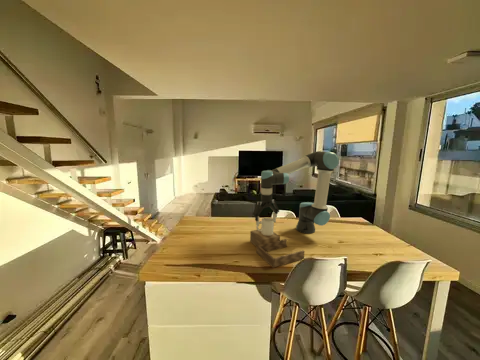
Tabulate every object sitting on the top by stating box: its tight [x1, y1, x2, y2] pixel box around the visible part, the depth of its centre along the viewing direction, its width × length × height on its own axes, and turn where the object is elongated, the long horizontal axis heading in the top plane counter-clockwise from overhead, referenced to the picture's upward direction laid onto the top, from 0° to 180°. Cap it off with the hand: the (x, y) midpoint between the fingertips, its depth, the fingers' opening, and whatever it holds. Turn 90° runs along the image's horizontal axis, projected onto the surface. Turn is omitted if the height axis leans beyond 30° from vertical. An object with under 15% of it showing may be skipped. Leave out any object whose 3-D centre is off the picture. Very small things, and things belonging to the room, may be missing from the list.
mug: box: [255, 217, 275, 236], centre depth 149 cm, size 12×8×10 cm
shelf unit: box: [249, 228, 306, 268], centre depth 143 cm, size 23×34×8 cm
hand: (266, 223), depth 149 cm, fingers open, 13 cm apart
